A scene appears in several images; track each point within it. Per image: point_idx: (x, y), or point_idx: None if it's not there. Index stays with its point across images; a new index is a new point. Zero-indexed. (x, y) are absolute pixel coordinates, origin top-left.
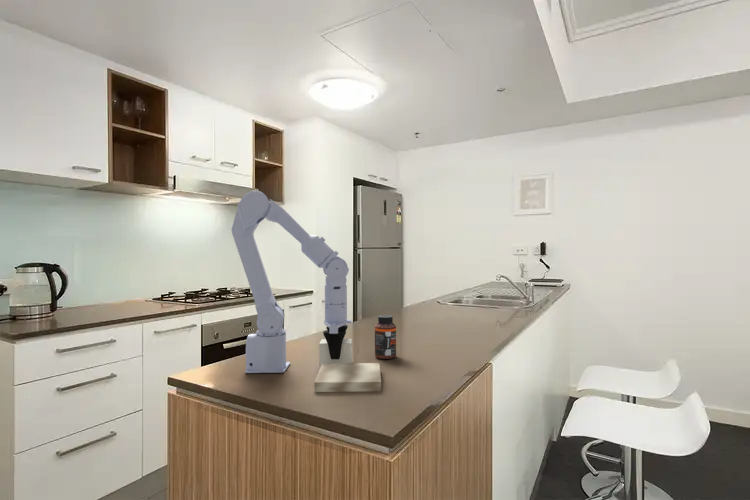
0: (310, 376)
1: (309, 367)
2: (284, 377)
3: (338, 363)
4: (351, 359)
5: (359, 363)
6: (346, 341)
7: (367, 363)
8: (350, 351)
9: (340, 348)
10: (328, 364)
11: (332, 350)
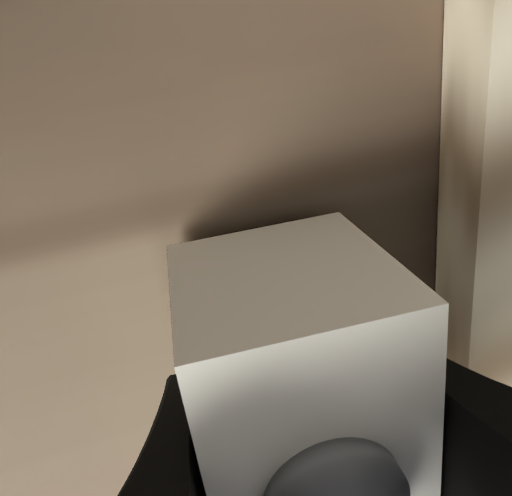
0: None
1: None
2: None
3: (474, 296)
4: (270, 236)
5: (492, 119)
6: (343, 385)
7: (504, 34)
8: (397, 264)
9: (463, 369)
10: (491, 355)
11: None
